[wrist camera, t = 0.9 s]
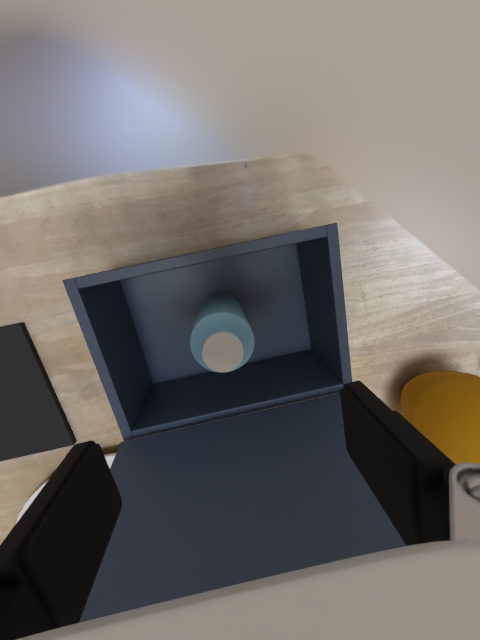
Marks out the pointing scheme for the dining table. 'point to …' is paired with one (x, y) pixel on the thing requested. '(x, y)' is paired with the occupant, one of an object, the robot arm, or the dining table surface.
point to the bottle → (221, 334)
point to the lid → (235, 506)
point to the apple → (446, 412)
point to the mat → (27, 400)
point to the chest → (179, 318)
